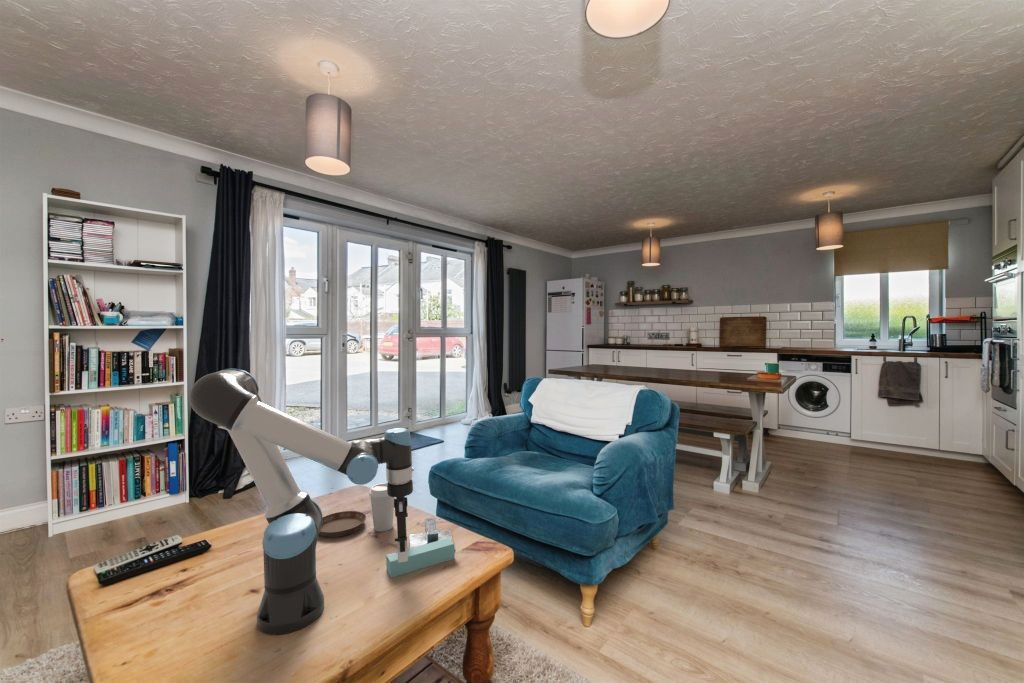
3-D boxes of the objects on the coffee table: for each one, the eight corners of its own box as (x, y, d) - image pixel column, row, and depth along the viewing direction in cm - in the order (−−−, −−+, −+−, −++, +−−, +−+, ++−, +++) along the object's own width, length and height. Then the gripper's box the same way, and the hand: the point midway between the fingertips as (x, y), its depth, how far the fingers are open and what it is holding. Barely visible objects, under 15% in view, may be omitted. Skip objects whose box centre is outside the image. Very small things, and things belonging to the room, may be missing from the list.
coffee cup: (402, 525, 159) (401, 485, 159) (381, 536, 151) (381, 493, 151) (384, 519, 164) (383, 480, 164) (363, 529, 156) (363, 488, 156)
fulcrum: (455, 550, 140) (454, 532, 140) (410, 557, 137) (410, 538, 137) (450, 531, 154) (449, 514, 154) (409, 536, 150) (409, 519, 150)
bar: (454, 559, 136) (454, 543, 136) (390, 578, 126) (390, 561, 126) (449, 553, 140) (448, 537, 140) (386, 571, 130) (386, 554, 129)
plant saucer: (303, 532, 155) (303, 523, 155) (347, 514, 170) (347, 506, 170) (333, 545, 145) (332, 536, 145) (376, 525, 160) (376, 517, 160)
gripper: (414, 493, 119) (417, 569, 120) (411, 466, 144) (413, 529, 144) (385, 497, 118) (389, 574, 118) (387, 469, 142) (390, 532, 142)
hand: (402, 549), depth 131 cm, fingers open, 13 cm apart
